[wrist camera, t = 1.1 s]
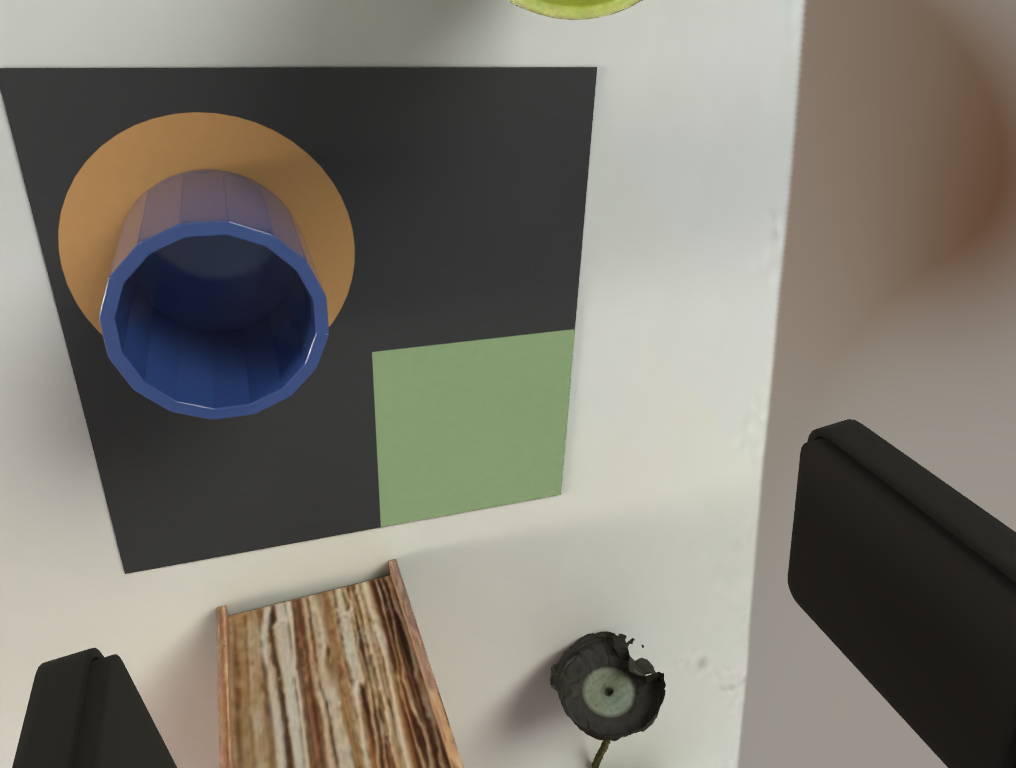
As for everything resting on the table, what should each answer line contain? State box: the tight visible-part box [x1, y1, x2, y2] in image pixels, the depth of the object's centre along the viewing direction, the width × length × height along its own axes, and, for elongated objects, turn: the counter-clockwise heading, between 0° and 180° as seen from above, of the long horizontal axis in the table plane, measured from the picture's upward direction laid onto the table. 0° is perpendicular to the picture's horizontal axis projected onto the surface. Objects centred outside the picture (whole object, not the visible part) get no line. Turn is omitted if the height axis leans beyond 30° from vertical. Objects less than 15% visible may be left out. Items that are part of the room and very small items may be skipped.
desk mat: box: [0, 67, 597, 574], centre depth 35 cm, size 22×22×1 cm
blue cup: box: [99, 169, 329, 420], centre depth 28 cm, size 7×7×7 cm
